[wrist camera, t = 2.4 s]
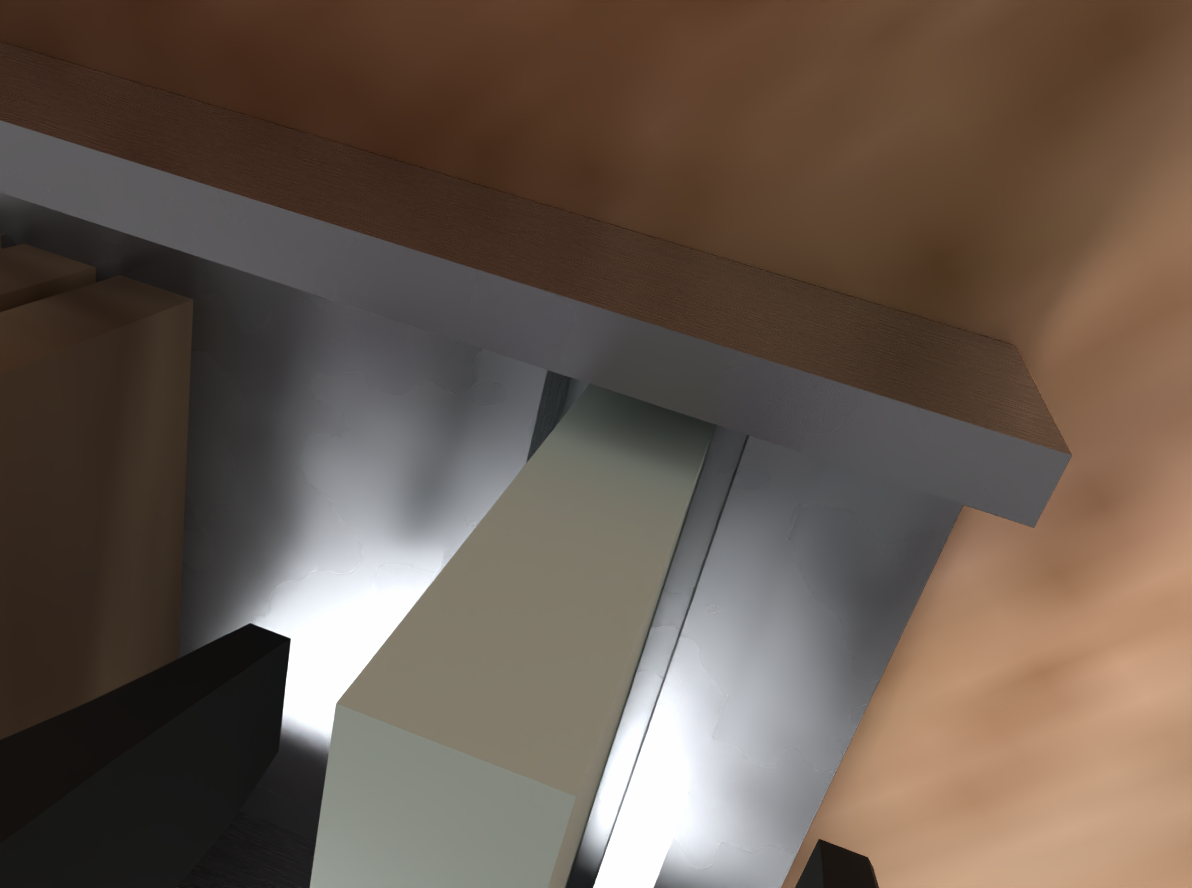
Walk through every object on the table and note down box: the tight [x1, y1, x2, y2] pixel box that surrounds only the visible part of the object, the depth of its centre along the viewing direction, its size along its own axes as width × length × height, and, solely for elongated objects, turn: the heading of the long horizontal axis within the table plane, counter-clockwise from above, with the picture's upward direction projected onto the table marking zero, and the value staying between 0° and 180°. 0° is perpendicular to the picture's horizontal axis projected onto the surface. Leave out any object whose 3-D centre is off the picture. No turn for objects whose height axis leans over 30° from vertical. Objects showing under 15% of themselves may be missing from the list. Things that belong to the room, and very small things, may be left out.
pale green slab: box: [310, 384, 717, 888], centre depth 11 cm, size 2×10×7 cm, turn 168°
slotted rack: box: [0, 42, 1072, 888], centre depth 14 cm, size 17×13×4 cm
